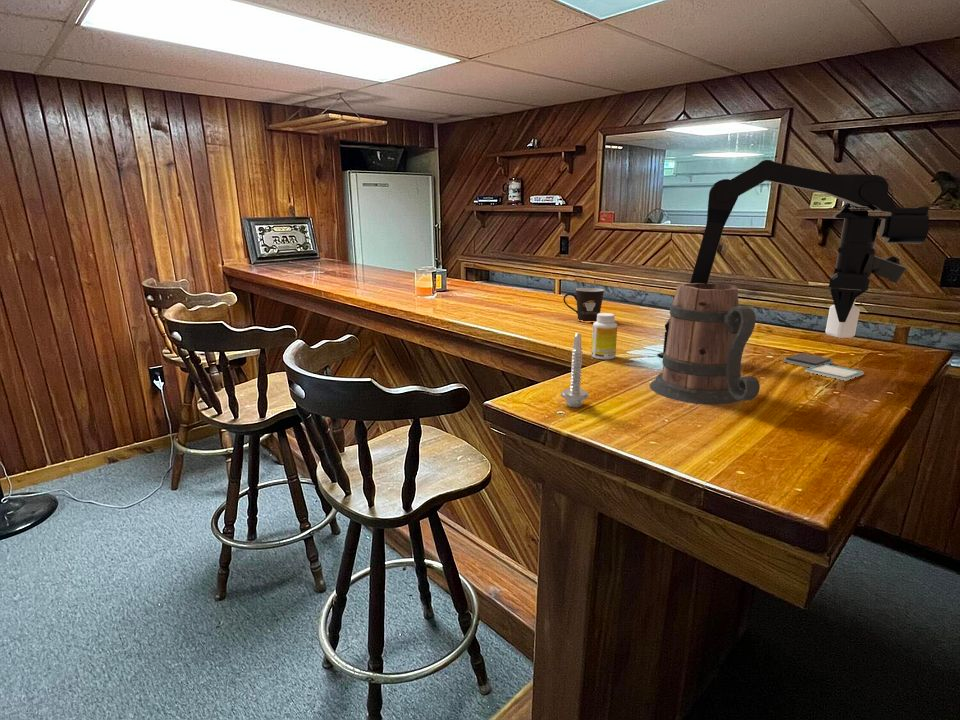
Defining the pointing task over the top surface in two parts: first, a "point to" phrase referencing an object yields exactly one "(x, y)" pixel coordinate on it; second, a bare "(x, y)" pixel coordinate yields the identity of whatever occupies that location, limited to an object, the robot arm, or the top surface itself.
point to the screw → (575, 377)
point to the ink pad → (808, 360)
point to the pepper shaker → (842, 323)
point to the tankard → (706, 347)
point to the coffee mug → (587, 303)
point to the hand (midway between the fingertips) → (842, 319)
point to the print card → (835, 372)
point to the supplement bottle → (604, 336)
